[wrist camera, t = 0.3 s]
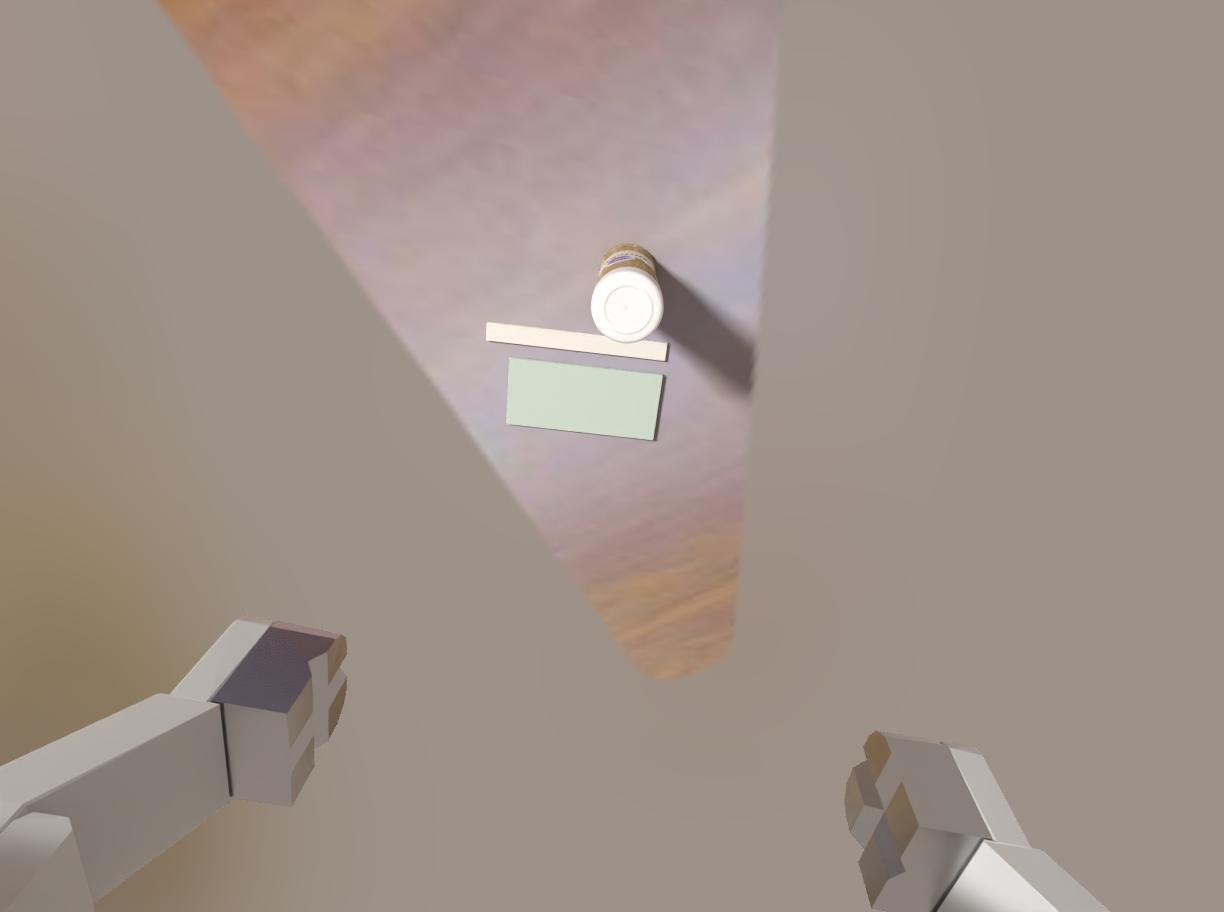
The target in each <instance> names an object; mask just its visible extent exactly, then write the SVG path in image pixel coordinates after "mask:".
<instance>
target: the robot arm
mask: <svg viewBox="0 0 1224 912" xmlns="http://www.w3.org/2000/svg"><path fill="white" fill-rule="evenodd" d="M346 655H347V644H346V637H344V636H343V635H342V634H337V633H332V632H327V631H323V630H318V629H313V628H308V627H303V626H298V625H293V624H289V623H284V622H279V621H278V622H275V621H270V620H265V619H260V618H256V617H251V616H247V615H245V616H243V617H241V618H239V619H237V620H235V621H234V622H233V623H232V624H231V625H230V626H229V628H228V629H227V630H226V631H225V632H224V633H223V634H222V636H221V637H220V638H219V639H218V640H217V641H216V642H215V644H214V645H213V646H212V647H211V648H210V649H209V650H208V652H207V653H206V654H205V655H204V656H203V657H202V658H201V659H200V661H199V662H198V663H197V664H196V665H195V666H194V667H193V669H192V670H191V671H190V672H189V673H188V674H187V675H186V677H185V678H184V679H183V680H182V681H181V682H180V683H179V684H178V686H177V687H176V688H175V689H174V690H173V691H172V692H171V694H170V695H166V694H160V693H158V694H156V695H154V696H152V697H150V698H147V699H145V700H143V701H141V702H139V703H137V704H134V705H132V706H130V707H128V708H126V709H124V710H122V711H119V712H117V713H115V714H113V715H111V716H109V717H107V718H104V719H102V720H100V721H98V722H96V723H94V724H91V725H89V726H87V727H85V728H83V729H81V730H78V731H76V732H74V733H72V734H70V735H68V736H65V737H63V738H61V739H59V740H57V741H55V742H52V743H50V744H48V745H46V746H44V747H42V748H39V749H37V750H35V751H33V752H31V753H29V754H27V755H24V756H22V757H20V758H18V759H16V760H14V761H11V762H9V763H7V764H5V765H3V766H1V767H0V912H96V911H95V907H94V903H95V902H96V901H97V900H99V899H100V898H102V897H103V896H104V895H106V894H107V893H108V892H110V891H111V890H112V889H114V888H115V887H116V886H118V885H119V884H120V883H122V882H123V881H124V880H126V879H127V878H128V877H130V876H131V875H132V874H134V873H135V872H137V871H138V870H139V869H141V868H142V867H143V866H145V865H146V864H147V863H149V862H150V861H151V860H153V859H154V858H156V857H157V856H158V855H160V854H161V853H162V852H164V851H165V850H166V849H168V848H169V847H170V846H171V845H173V844H174V843H175V842H177V841H178V840H180V839H181V838H182V837H184V836H185V835H187V834H188V833H189V832H191V831H192V830H193V829H194V828H196V827H197V826H199V825H200V824H201V823H203V822H204V821H205V820H207V819H208V818H209V817H211V816H212V815H213V814H215V813H216V812H217V811H219V810H220V809H222V808H223V807H224V806H226V805H227V804H228V803H230V798H233V799H239V800H246V801H253V802H260V803H268V804H274V805H281V806H289V807H292V806H293V804H294V802H295V801H296V799H297V797H298V795H299V793H300V791H301V790H302V788H303V786H304V784H305V783H306V781H307V779H308V777H309V775H310V773H311V772H312V770H313V768H314V749H315V748H317V747H319V746H320V745H322V744H323V743H325V742H327V741H328V740H329V738H330V737H331V735H332V733H333V731H334V729H335V727H336V725H337V723H338V720H339V717H340V714H341V711H342V708H343V705H344V701H345V695H346V689H347V676H346V675H345V674H344V673H343V671H342V670H341V669H340V665H341V664H342V662H343V660H344V659H345V657H346ZM863 749H864V752H865V755H866V758H867V760H865V761H864V762H862V763H860V764H858V765H857V766H855V767H853V769H852V771H851V774H850V776H849V778H848V781H847V783H846V792H845V801H844V802H845V812H846V819H847V822H848V826H849V830H850V833H851V834H852V835H853V837H854V838H855V839H856V840H857V841H858V842H859V843H860V845H861V846H862V847H863V848H864V851H863V853H862V855H861V858H860V859H859V862H858V863H859V866H860V870H861V873H862V877H863V880H864V884H865V887H866V891H867V894H868V898H869V901H870V905H871V908H872V909H877V910H882V911H887V912H1110V911H1109V910H1107V908H1105V907H1104V906H1103V905H1102V904H1101V903H1100V902H1099V901H1098V900H1096V899H1095V898H1094V897H1093V896H1092V895H1091V894H1090V893H1089V892H1088V891H1086V890H1085V889H1084V888H1083V887H1082V886H1081V885H1080V884H1079V883H1078V882H1077V881H1075V880H1074V879H1073V878H1072V877H1071V876H1070V875H1069V874H1068V873H1067V872H1065V871H1064V870H1063V869H1062V868H1061V867H1060V866H1059V865H1058V864H1056V863H1055V862H1054V861H1053V860H1052V859H1051V858H1050V857H1049V856H1048V855H1046V854H1045V853H1044V852H1043V851H1042V850H1039V849H1034V848H1031V847H1030V845H1029V843H1028V841H1027V839H1026V837H1025V835H1024V833H1023V832H1022V830H1021V828H1020V826H1019V824H1018V822H1017V820H1016V818H1015V816H1014V814H1013V813H1012V811H1011V809H1010V807H1009V805H1008V803H1007V801H1006V799H1005V798H1004V796H1003V794H1002V792H1001V790H1000V788H999V787H998V784H997V783H996V781H995V779H994V777H993V775H992V773H991V771H990V769H989V768H988V766H987V764H986V762H985V760H984V758H983V756H982V755H981V753H980V752H979V751H978V750H976V749H975V748H974V747H971V746H965V745H959V744H953V743H947V742H938V741H935V740H928V739H923V738H917V737H911V736H905V735H900V734H894V733H888V732H882V731H875V732H873V733H872V734H871V735H869V737H868V738H867V741H866V742H865V744H864V746H863Z"/></svg>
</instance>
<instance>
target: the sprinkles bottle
mask: <svg viewBox="0 0 1224 912" xmlns="http://www.w3.org/2000/svg"><path fill="white" fill-rule="evenodd" d="M663 311H664V302H663V295H662V291H661V289H660V286H659V284H658V280H657V276H656V268H655V263H654V261H653V259H652V257H651V256H650V254H649V253H648V252H647V251H646V250H644V249H643V248H642V247H640V246H637V245H634V244H621V245H619V246H616V247H614V248H613V249H611V250H610V251H609V252H608V253H607V254H606V255H605V257H604V258H603V260H602V262H601V266H600V272H599V276H598V281H597V285H596V287H595V289H594V292H593V296H592V301H591V312H592V317H593V320H594V323H595V324H596V326H597V328H598V329H599V330H600V332H601V333H602V334H604V335H605V336H606V337H607V338H609V339H611V340H613V341H616V342H619V343H635V342H639V341H642V340H644V339H646V338H647V337H649V336H650V335H651V334H652V333H653V332H654V331H655V330H656V329H657V327H658V326H659V324H660V322H661V319H662V316H663Z"/></svg>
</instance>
